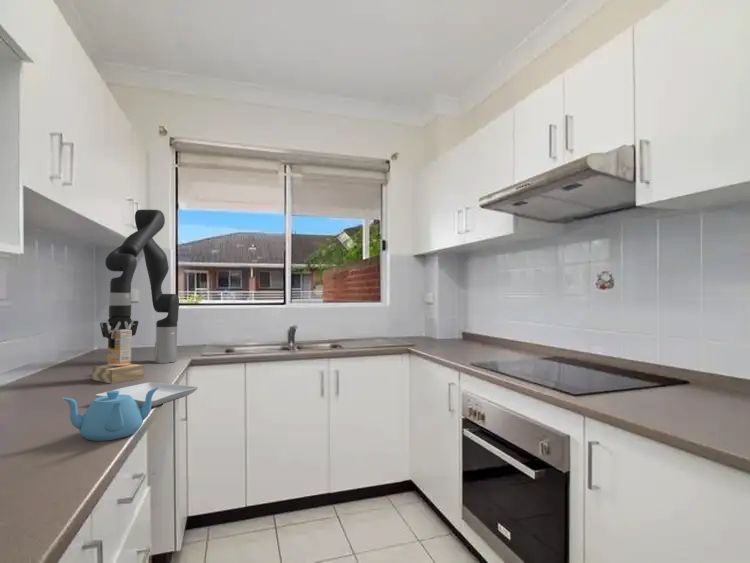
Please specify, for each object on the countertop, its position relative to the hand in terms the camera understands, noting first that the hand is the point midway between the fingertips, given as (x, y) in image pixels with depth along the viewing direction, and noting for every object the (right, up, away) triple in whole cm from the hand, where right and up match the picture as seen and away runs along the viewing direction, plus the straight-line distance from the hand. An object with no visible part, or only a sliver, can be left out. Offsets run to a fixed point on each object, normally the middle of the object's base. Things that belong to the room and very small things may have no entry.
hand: (119, 347), depth 168 cm
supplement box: (0, -6, 0) cm, 6 cm away
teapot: (+38, -11, -66) cm, 76 cm away
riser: (0, -12, 0) cm, 12 cm away
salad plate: (+28, -12, -32) cm, 44 cm away
